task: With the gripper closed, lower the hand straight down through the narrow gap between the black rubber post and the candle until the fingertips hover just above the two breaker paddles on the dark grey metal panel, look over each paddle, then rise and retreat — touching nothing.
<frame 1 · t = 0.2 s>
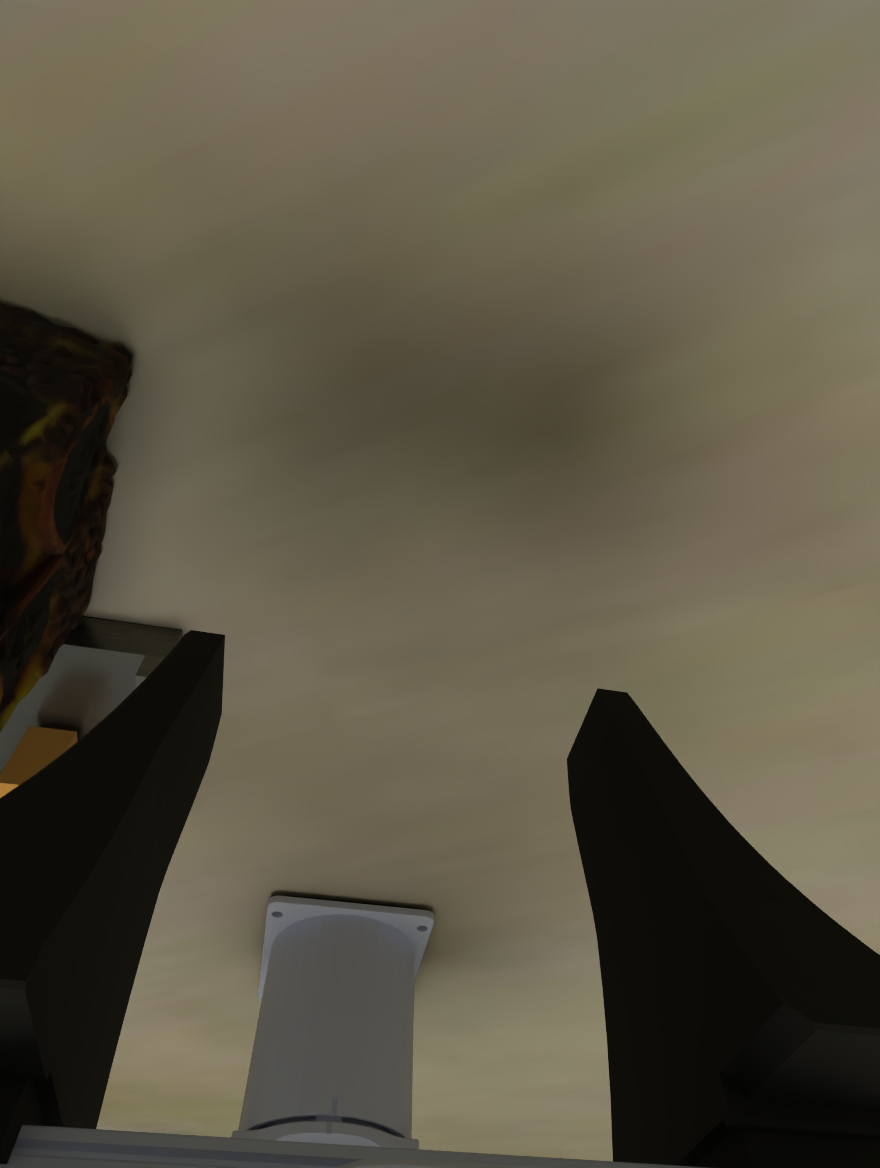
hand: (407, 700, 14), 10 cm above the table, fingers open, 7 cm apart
paddle orange: (41, 778, 26), point 3 cm above the table, hinge at 0.0°
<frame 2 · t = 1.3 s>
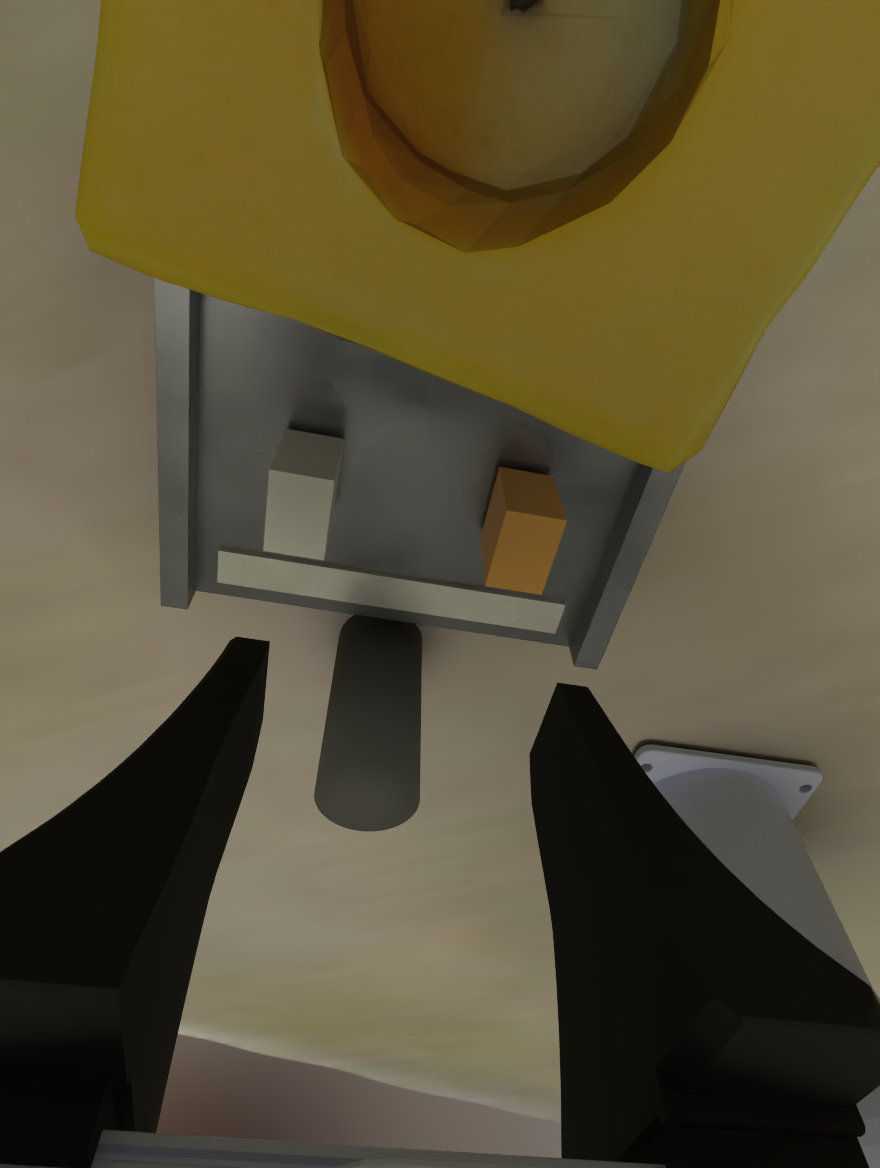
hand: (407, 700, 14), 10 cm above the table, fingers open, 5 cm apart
post: (380, 641, 27), on the table
paddle white: (304, 493, 20), point 3 cm above the table, hinge at 0.0°
panel: (415, 463, 23), on the table
candle: (498, 29, 17), on the table
paddle orange: (520, 529, 21), point 3 cm above the table, hinge at 0.0°
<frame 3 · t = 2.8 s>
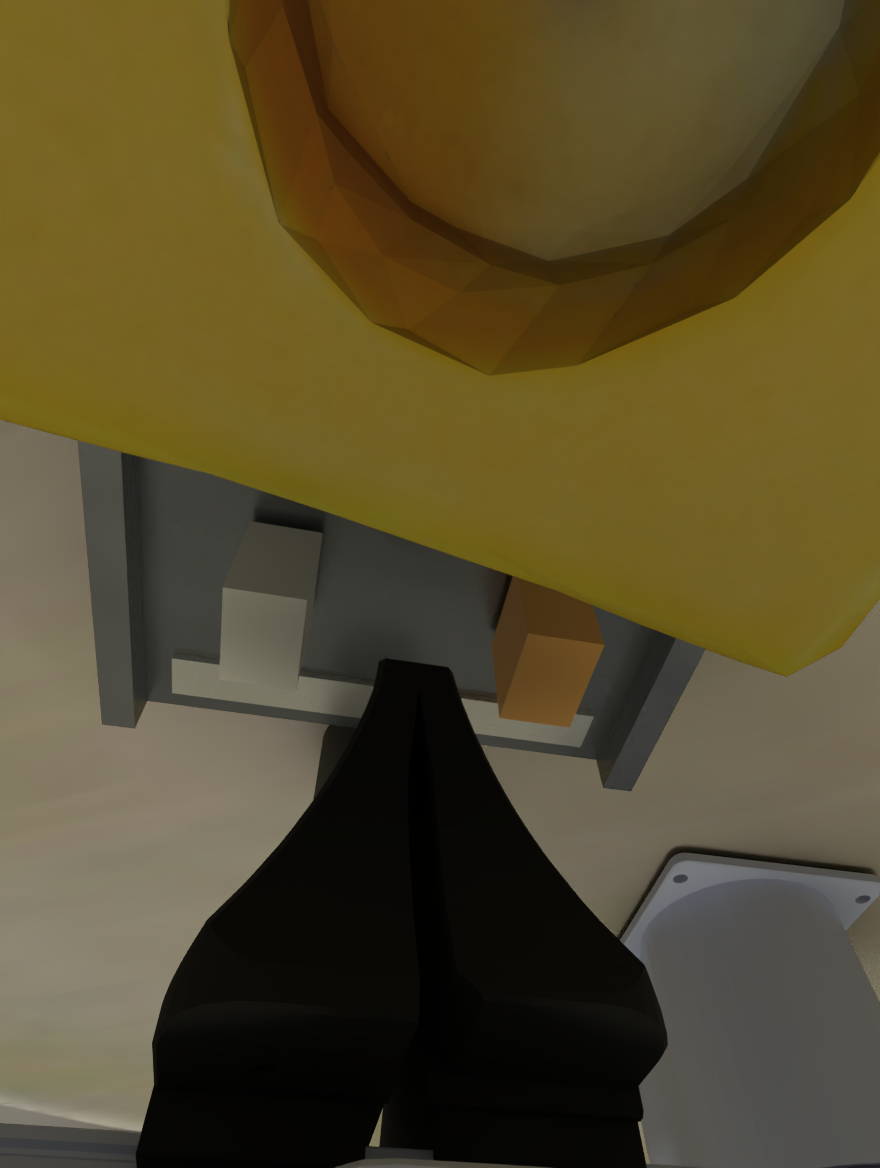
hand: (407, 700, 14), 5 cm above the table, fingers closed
post: (371, 745, 23), on the table
paddle white: (272, 604, 16), point 3 cm above the table, hinge at 0.0°
panel: (413, 550, 19), on the table
candle: (520, 18, 13), on the table
paddle orange: (542, 644, 17), point 3 cm above the table, hinge at 0.0°
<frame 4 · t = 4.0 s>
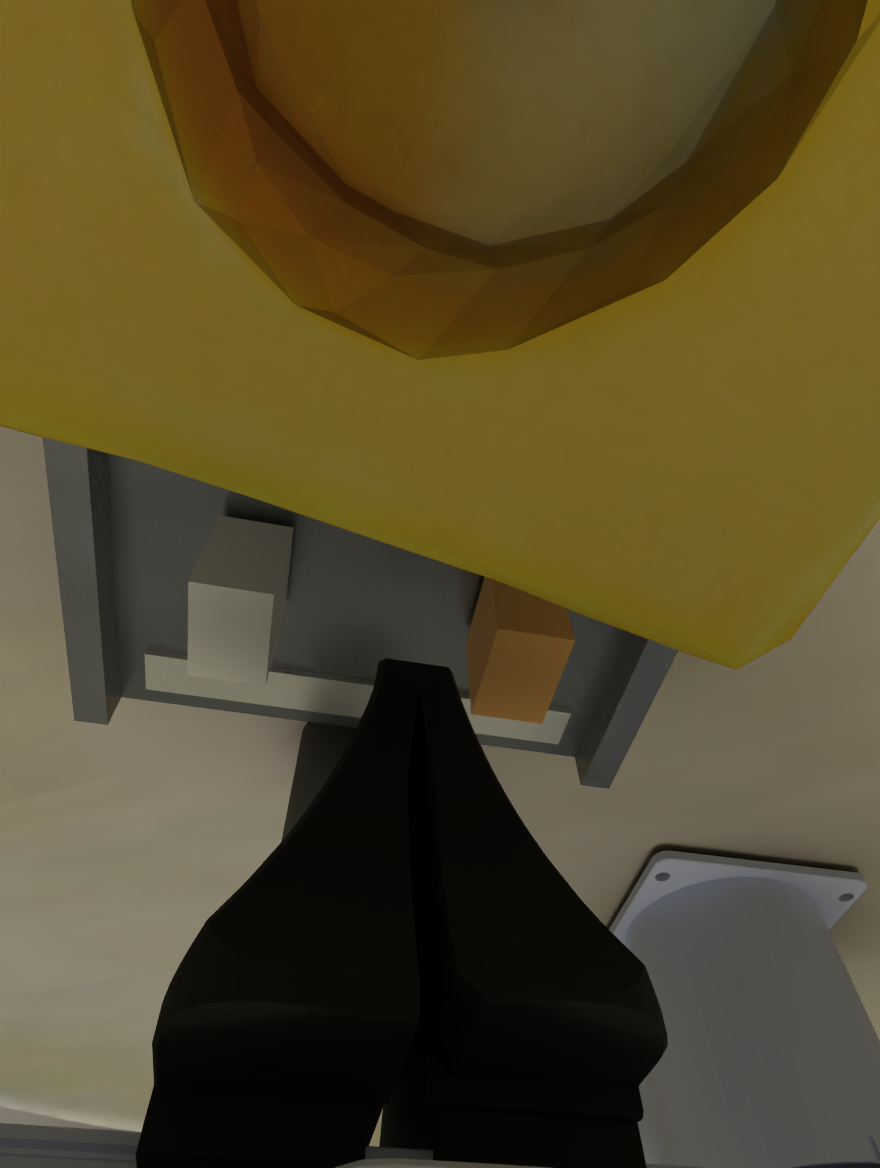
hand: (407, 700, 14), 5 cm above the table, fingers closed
post: (350, 742, 23), on the table
paddle white: (242, 599, 16), point 3 cm above the table, hinge at 0.0°
panel: (388, 545, 19), on the table
candle: (486, 6, 13), on the table
paddle orange: (515, 640, 16), point 3 cm above the table, hinge at 0.0°
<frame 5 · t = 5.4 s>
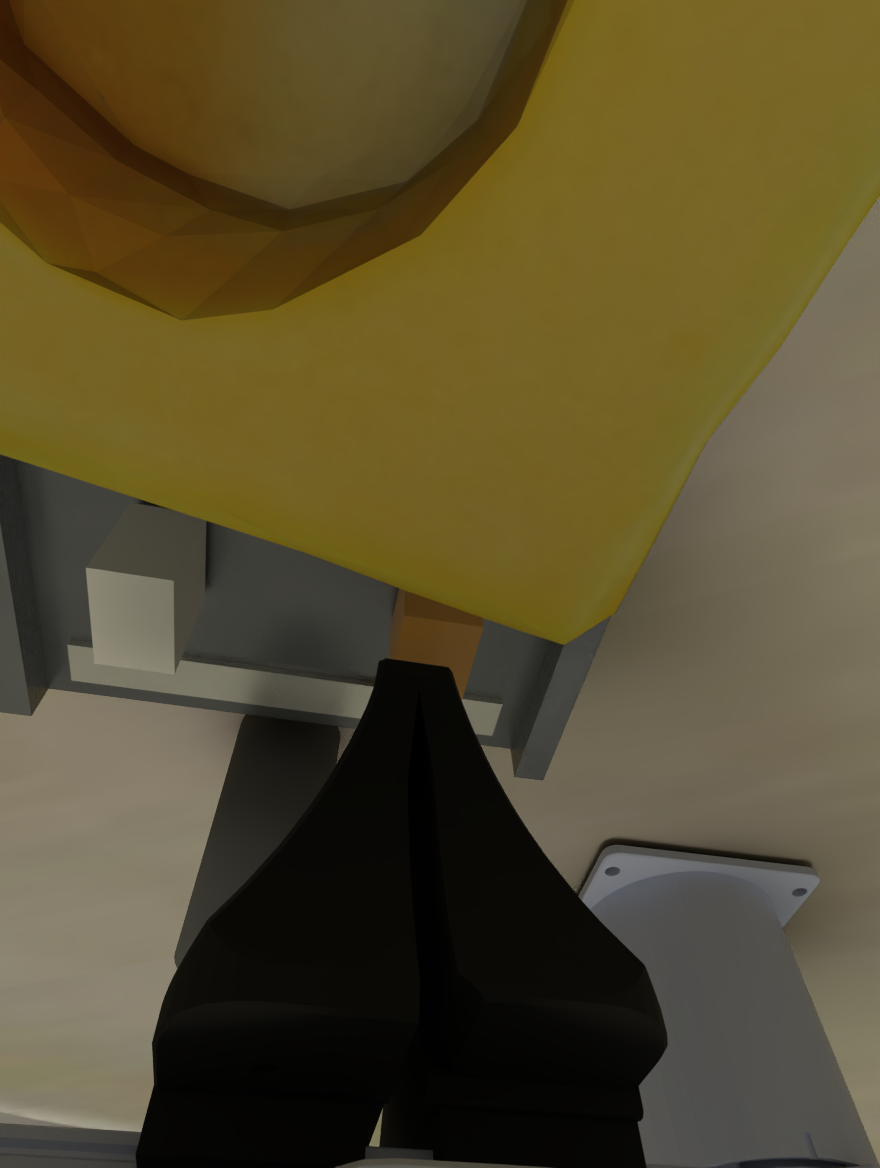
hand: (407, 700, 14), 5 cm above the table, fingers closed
post: (290, 735, 23), on the table
paddle white: (152, 587, 16), point 3 cm above the table, hinge at 0.0°
panel: (313, 534, 18), on the table
paddle orange: (432, 628, 16), point 3 cm above the table, hinge at 0.0°
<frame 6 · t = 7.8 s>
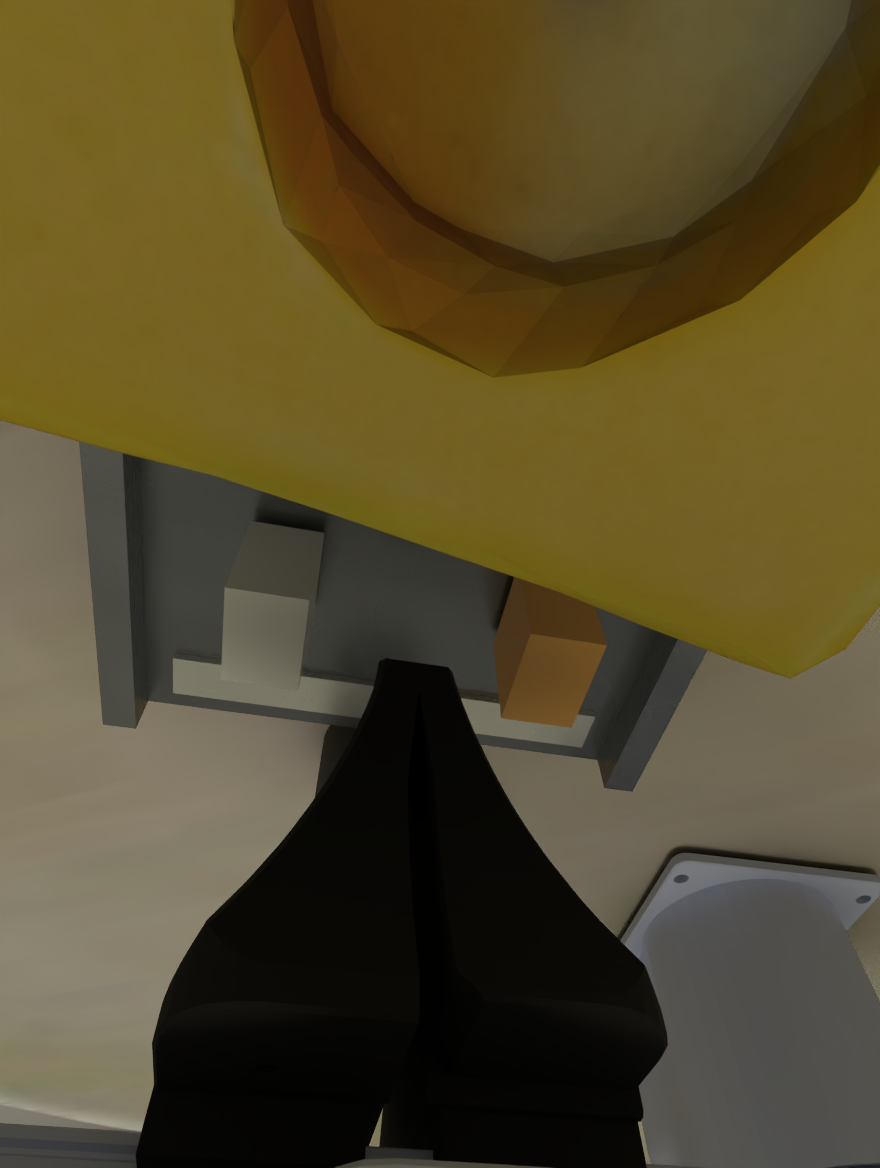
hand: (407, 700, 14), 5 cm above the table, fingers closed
post: (372, 745, 23), on the table
paddle white: (274, 604, 16), point 3 cm above the table, hinge at 0.0°
panel: (414, 550, 19), on the table
candle: (523, 17, 13), on the table
paddle orange: (544, 644, 17), point 3 cm above the table, hinge at 0.0°
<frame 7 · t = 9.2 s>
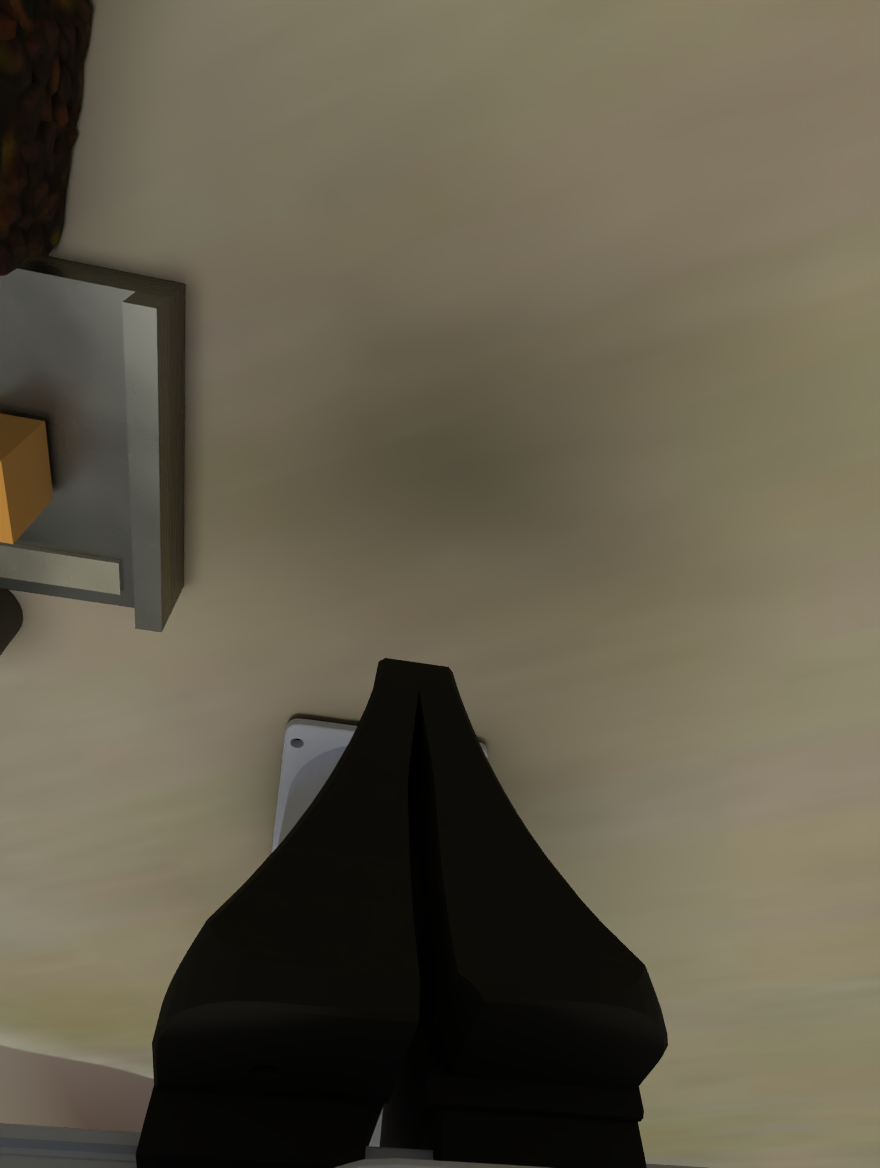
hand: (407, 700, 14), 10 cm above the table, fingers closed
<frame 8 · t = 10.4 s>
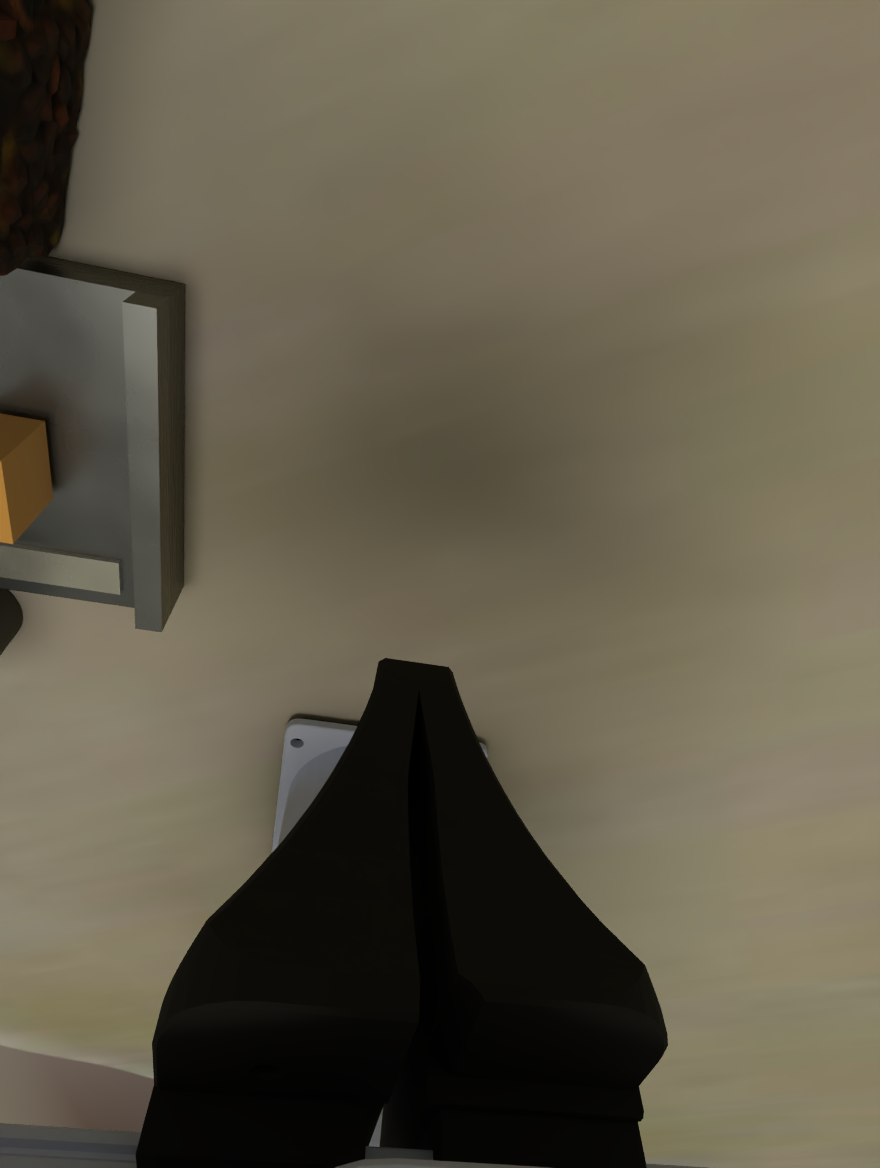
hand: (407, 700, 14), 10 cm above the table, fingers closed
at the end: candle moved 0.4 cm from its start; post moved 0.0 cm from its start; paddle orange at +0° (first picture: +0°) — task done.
